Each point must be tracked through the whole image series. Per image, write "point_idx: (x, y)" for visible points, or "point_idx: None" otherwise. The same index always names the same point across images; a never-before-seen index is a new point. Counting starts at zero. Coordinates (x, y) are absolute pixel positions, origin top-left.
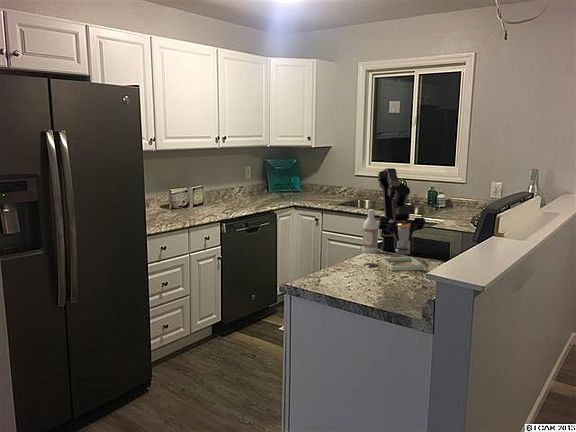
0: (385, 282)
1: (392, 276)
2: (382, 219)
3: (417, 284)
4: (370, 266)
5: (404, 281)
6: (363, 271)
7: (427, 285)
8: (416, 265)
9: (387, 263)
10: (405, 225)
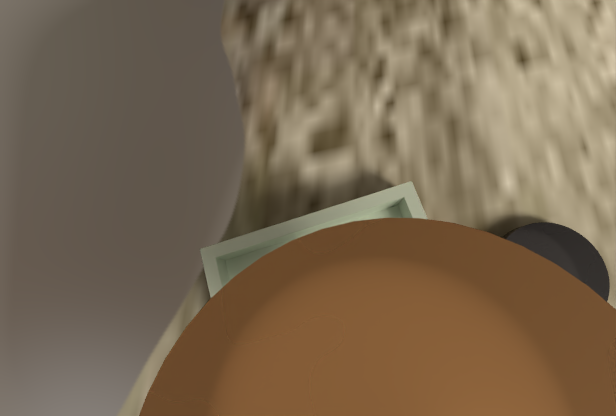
0: (421, 37)
1: (392, 132)
2: None
3: (273, 44)
4: (550, 247)
5: (331, 70)
6: (570, 188)
7: (230, 41)
8: (249, 246)
9: None
10: (343, 225)
